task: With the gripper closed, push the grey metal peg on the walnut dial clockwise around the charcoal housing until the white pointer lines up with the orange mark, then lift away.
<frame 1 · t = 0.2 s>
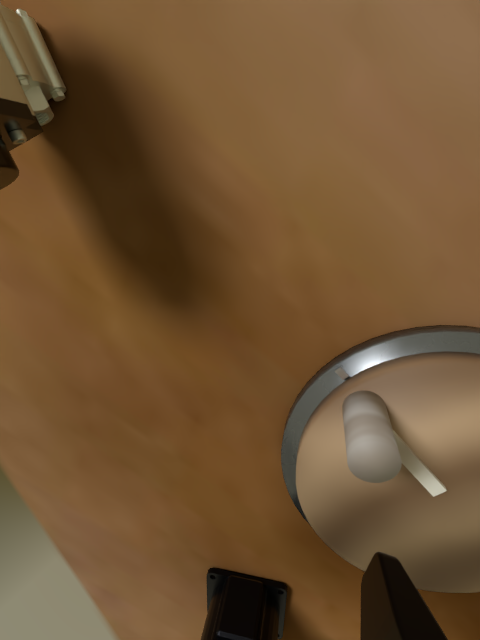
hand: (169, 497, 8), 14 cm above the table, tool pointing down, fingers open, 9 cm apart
dial: (449, 512, 19), point 4 cm above the table, hinge at 45.0°
dial housing: (429, 461, 22), on the table
pneumatic valve: (38, 69, 19), on the table
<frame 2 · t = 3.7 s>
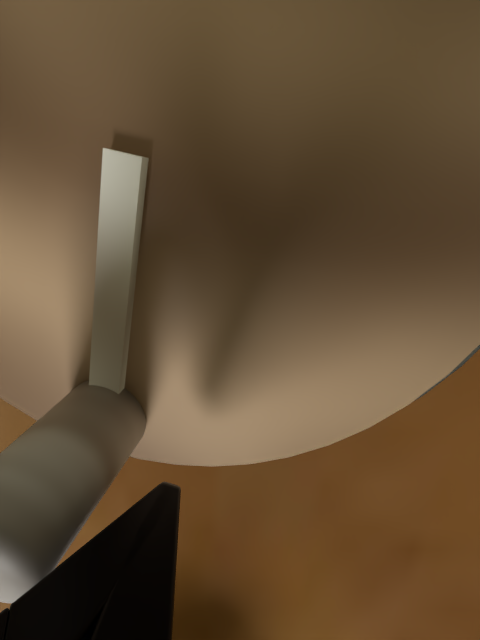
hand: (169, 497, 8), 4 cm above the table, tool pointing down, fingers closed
dial: (94, 128, 6), point 4 cm above the table, hinge at 44.4°, touching gripper
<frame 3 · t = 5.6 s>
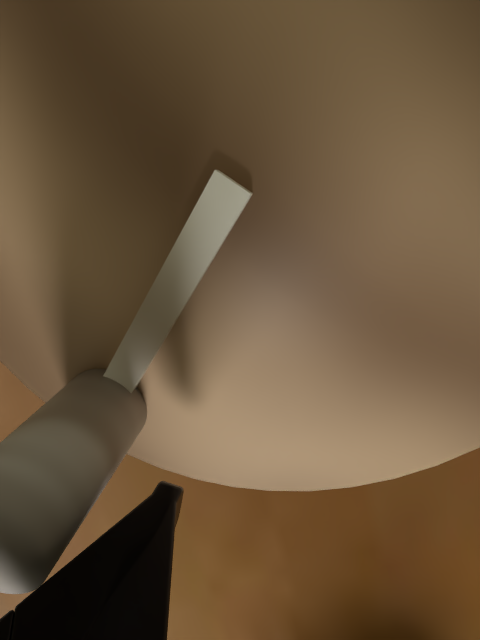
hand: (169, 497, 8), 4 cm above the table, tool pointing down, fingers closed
dial: (231, 165, 6), point 4 cm above the table, hinge at 7.5°, touching gripper
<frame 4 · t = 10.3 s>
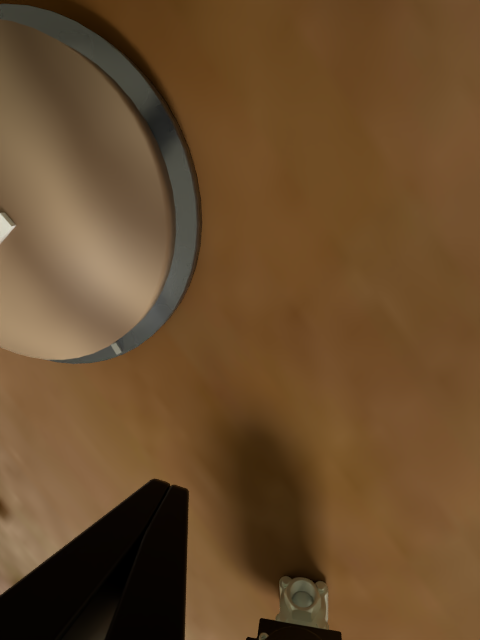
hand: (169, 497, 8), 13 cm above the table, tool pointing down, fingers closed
dial housing: (47, 211, 20), on the table
pneumatic valve: (298, 589, 27), on the table
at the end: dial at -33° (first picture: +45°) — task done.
